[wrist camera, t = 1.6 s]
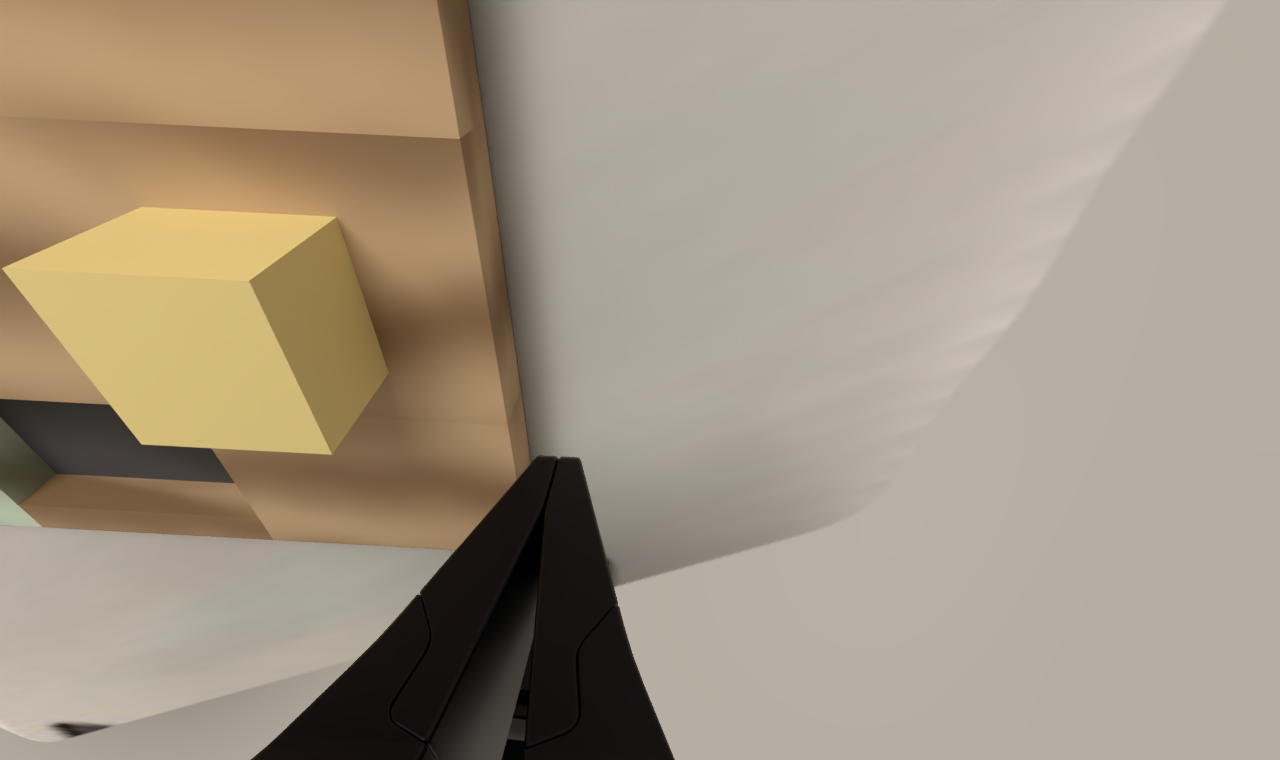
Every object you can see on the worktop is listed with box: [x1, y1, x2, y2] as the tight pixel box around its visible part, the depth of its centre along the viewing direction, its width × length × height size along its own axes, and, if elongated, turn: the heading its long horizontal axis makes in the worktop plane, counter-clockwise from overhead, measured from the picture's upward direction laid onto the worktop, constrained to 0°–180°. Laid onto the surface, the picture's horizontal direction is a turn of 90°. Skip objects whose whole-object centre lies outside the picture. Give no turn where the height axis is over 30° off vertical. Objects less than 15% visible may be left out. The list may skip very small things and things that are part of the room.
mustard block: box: [2, 207, 389, 455], centre depth 13 cm, size 5×5×4 cm
